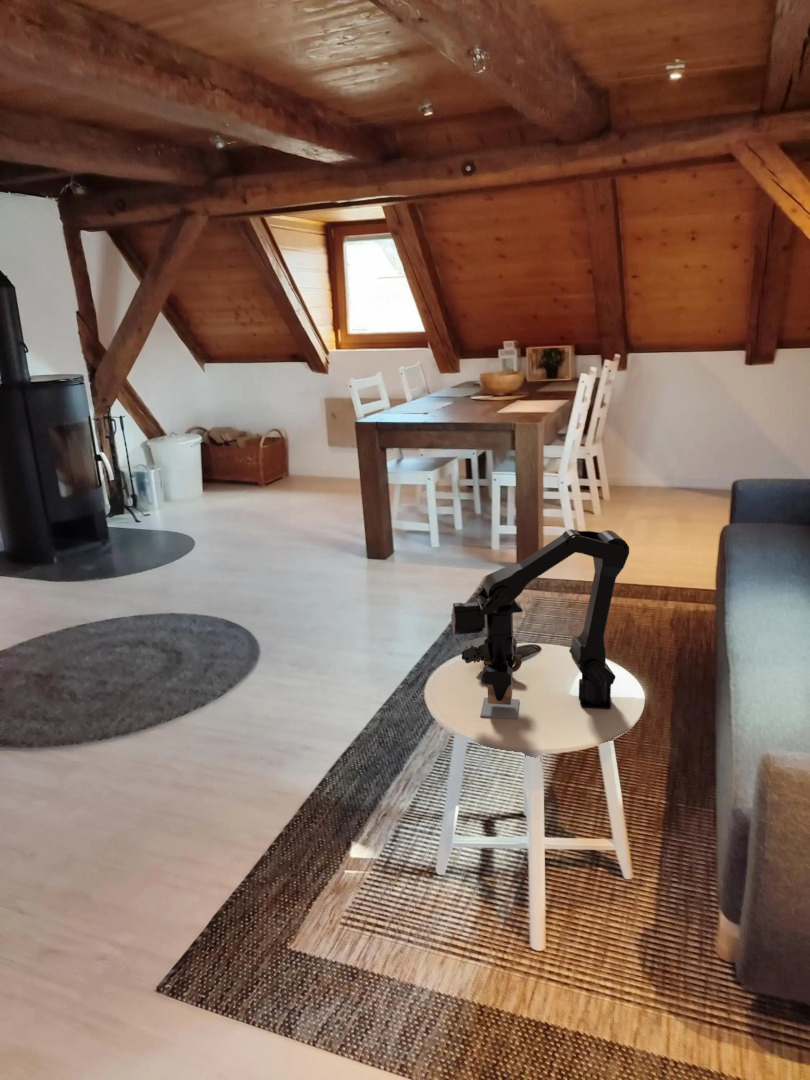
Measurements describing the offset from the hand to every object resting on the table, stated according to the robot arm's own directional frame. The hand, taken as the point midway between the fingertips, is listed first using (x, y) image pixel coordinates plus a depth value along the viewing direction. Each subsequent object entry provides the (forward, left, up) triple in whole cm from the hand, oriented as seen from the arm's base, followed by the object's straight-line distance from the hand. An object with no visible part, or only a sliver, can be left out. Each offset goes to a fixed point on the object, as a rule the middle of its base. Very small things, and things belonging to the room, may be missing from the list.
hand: (500, 694), depth 173 cm
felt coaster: (0, 0, -4) cm, 4 cm away
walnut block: (0, 0, -1) cm, 1 cm away
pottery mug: (+2, -16, -4) cm, 17 cm away
